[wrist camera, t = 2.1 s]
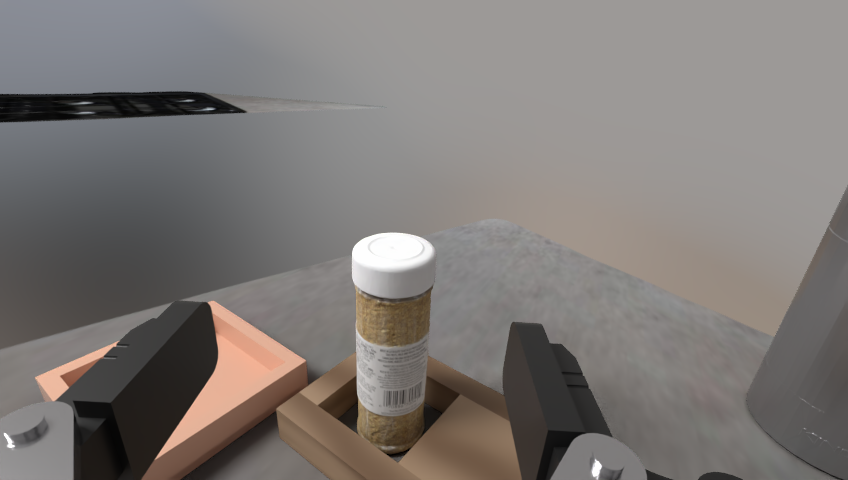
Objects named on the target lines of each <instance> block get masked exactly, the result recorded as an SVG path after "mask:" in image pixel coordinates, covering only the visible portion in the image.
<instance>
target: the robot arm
mask: <svg viewBox="0 0 848 480" xmlns="http://www.w3.org/2000/svg"><path fill="white" fill-rule="evenodd" d="M217 361H218V345H217V339H216V333H215V327H214V320H213V314H212V309H211V306H210V305H209V304H208V303H207V302H193V301H175V302H174V303H172V304H171V305H170V306H169V307H168V308H167V309H166V310H165V311H164V312H163V313H162V314H161V315H160V316H159V317H158V318H157V319H155V318H152V319H150V320H149V321H147V322H145V323H143V324H141V325H139V326H138V327H136V328H134V329H132V330H131V331H130V332H129V333H128V334H126V335H125V336H124V337H123V338H122V339H121V340H120V341H119V342H118V343H117V345H116V347H112V348H111V349H110V350H109V351H108V352H107V353H106V354H105V355H104V358H103V359H100V360H98V361H97V362H96V363H95V364H94V365H93V366H92V367H91V368H90V369H89V370H88V371H87V372H85V373H84V374H83V375H82V376H81V377H80V378H79V379H78V380H77V381H76V382H75V383H74V384H73V385H71V386H70V387H69V388H68V389H67V390H66V391H65V392H64V393H63V394H62V395H61V396H60V397H59V398H57V399H56V400H55V401H49V402H42V403H37V404H33V405H29V406H26V407H24V408H21V409H19V410H16V411H14V412H12V413H10V414H8V415H6V416H4V417H3V418H1V419H0V480H141V479H142V478H143V476H144V475H145V473H146V472H147V470H148V469H149V467H150V466H151V464H152V463H153V461H154V460H155V458H156V457H157V456H158V454H159V453H160V451H161V450H162V448H163V447H164V445H165V444H166V442H167V441H168V439H169V438H170V436H171V435H172V433H173V432H174V430H175V429H176V428H177V426H178V425H179V423H180V422H181V420H182V419H183V417H184V416H185V414H186V413H187V411H188V410H189V408H190V407H191V405H192V404H193V402H194V401H195V400H196V398H197V397H198V395H199V394H200V392H201V391H202V389H203V388H204V386H205V385H206V383H207V382H208V380H209V379H210V377H211V376H212V374H213V373H214V371H215V368H216V365H217ZM582 374H583V373H582V371H581V368H580V366H579V364H578V362H577V360H576V358H575V357H574V356H573V355H572V354H571V353H570V352H569V351H568V350H567V349H566V348H565V347H564V346H563V345H562V344H551V343H549V340H548V338H547V335H546V333H545V330H544V328H543V326H542V324H538V323H522V322H513V323H512V324H511V327H510V332H509V338H508V344H507V350H506V355H505V361H504V367H503V391H504V396H505V401H506V406H507V411H508V415H509V420H510V425H511V430H512V435H513V439H514V444H515V449H516V454H517V458H518V463H519V468H520V473H521V477H522V480H672V479H669V478H666V477H663V476H660V475H658V474H655V473H652V472H650V471H648V470H646V469H645V468H644V466H643V464H642V462H641V460H640V459H639V458H638V456H637V455H636V454H635V453H634V452H633V451H632V450H631V449H630V448H629V447H627V446H626V445H625V444H623V443H622V442H620V441H618V440H616V439H614V438H613V437H612V435H611V433H610V430H609V428H608V426H607V424H606V422H605V420H604V418H603V416H602V413H601V411H600V409H599V407H598V405H597V403H596V401H595V398H594V396H593V394H592V392H591V390H590V389H589V388H588V383H587V381H586V379H585V377H584V376H583V375H582ZM746 401H747V404H748V407H749V410H750V412H751V413H752V415H753V417H754V418H755V420H756V421H757V422H758V423H759V425H760V426H761V427H762V428H763V429H764V430H765V431H766V432H767V433H768V434H769V435H770V436H771V437H772V438H773V439H775V440H776V441H777V442H778V443H779V444H781V445H782V446H783V447H785V448H786V449H787V450H789V451H790V452H792V453H793V454H794V455H796V456H798V457H799V458H801V459H803V460H804V461H806V462H808V463H809V464H811V465H813V466H815V467H817V468H819V469H821V470H823V471H825V472H827V473H829V474H831V475H833V476H836V477H838V478H841V479H844V480H848V186H847V188H846V190H845V192H844V194H843V196H842V198H841V200H840V202H839V204H838V206H837V208H836V211H835V213H834V215H833V217H832V219H831V221H830V224H829V226H828V228H827V230H826V232H825V234H824V236H823V238H822V240H821V242H820V244H819V246H818V248H817V250H816V253H815V255H814V257H813V259H812V261H811V263H810V265H809V267H808V269H807V271H806V273H805V275H804V277H803V279H802V282H801V283H800V286H799V288H798V290H797V292H796V294H795V296H794V298H793V300H792V302H791V304H790V306H789V308H788V310H787V312H786V314H785V317H784V319H783V321H782V323H781V325H780V327H779V329H778V331H777V333H776V335H775V337H774V339H773V341H772V343H771V345H770V347H769V349H768V351H767V353H766V355H765V357H764V359H763V361H762V363H761V365H760V367H759V370H758V372H757V374H756V376H755V378H754V380H753V382H752V384H751V386H750V388H749V390H748V392H747V400H746ZM698 480H742V479H740V478H738V477H735V476H733V475H729V474H726V473H720V472H711V473H706V474H704V475H702V476H701V477H700V478H699V479H698Z"/></svg>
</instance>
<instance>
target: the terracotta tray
mask: <svg viewBox="0 0 848 480" xmlns="http://www.w3.org/2000/svg"><path fill="white" fill-rule="evenodd" d="M208 304H209V305H210V306H211V309H212V314H213V320H214V327H215V333H216V339H217V345H218V361H217V365H216V368H215V371H214V373H213V374H212V376H211V377H210V379H209V380H208V382H207V383H206V385H205V386H204V388H203V389H202V391H201V392H200V394H199V395H198V397H197V398H196V400H195V401H194V402H193V404H192V405H191V407H190V408H189V410H188V411H187V413H186V414H185V416H184V417H183V419H182V420H181V422H180V423H179V425H178V426H177V428H176V429H175V430H174V432H173V433H172V435H171V436H170V438H169V439H168V441H167V442H166V444H165V445H164V447H163V448H162V450H161V451H160V453H159V454H158V456H157V457H156V458H155V460H154V461H153V463H152V464H151V466H150V467H149V469H148V470H147V472H146V473H145V475H144V476H143V478H142V479H141V480H180V479H182V478H183V477H184V476H186V475H187V474H189V473H190V472H191V471H193V470H194V469H196V468H197V467H198V466H200V465H201V464H203V463H204V462H205V461H207V460H208V459H210V458H211V457H212V456H214V455H215V454H217V453H218V452H219V451H221V450H222V449H224V448H225V447H226V446H228V445H229V444H231V443H232V442H233V441H235V440H236V439H237V438H239V437H240V436H242V435H243V434H244V433H246V432H247V431H249V430H250V429H251V428H253V427H254V426H256V425H257V424H258V423H260V422H261V421H263V420H264V419H265V418H267V417H268V416H270V415H271V414H272V413H274V412H275V411H276V408H278V407H279V406H281V405H282V404H283V403H285V402H286V401H288V400H289V399H290V398H292V397H293V396H295V395H296V394H297V393H299V392H300V391H302V390H303V389H304V388H306V387H307V386H308V378H307V365H306V360H304V359H303V358H301V357H299V356H298V355H296V354H295V353H293V352H292V351H290V350H289V349H287V348H286V347H284V346H282V345H281V344H279V343H278V342H276V341H275V340H273V339H272V338H270V337H269V336H267V335H265V334H264V333H262V332H261V331H259V330H258V329H256V328H255V327H253V326H252V325H250V324H249V323H247V322H245V321H244V320H242V319H241V318H239V317H238V316H236V315H235V314H233V313H232V312H230V311H228V310H227V309H225V308H224V307H222V306H221V305H219V304H218V303H216V302H215V301H210V302H208ZM118 342H119V341H118ZM118 342H116V343H113V344H111V345H109V346H106V347H104V348H102V349H100V350H97V351H95V352H93V353H90V354H88V355H86V356H83V357H81V358H79V359H76V360H74V361H72V362H69V363H67V364H65V365H63V366H60V367H58V368H56V369H53V370H51V371H49V372H46V373H44V374H42V375H39V376H37V377H35V379H36V381H37V383H38V386H39V388H40V390H41V393H42V395H43V398H44V400H45V402H49V401H55V400H56V399H57V398H59V397H60V396H61V395H62V394H63V393H64V392H65V391H66V390H67V389H68V388H69V387H70V386H71V385H73V384H74V383H75V382H76V381H77V380H78V379H79V378H80V377H81V376H82V375H83V374H84V373H85V372H87V371H88V370H89V369H90V368H91V367H92V366H93V365H94V364H95V363H96V362H97V361H98V360H100V359H103V358H104V355H105V354H106V353H107V352H108V351H109V350H110V349H111V348H112V347H116V345H117V343H118Z"/></svg>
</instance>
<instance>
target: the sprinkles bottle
mask: <svg viewBox="0 0 848 480" xmlns="http://www.w3.org/2000/svg"><path fill="white" fill-rule="evenodd" d="M435 276H436V251H435V248H434V247H433V245H432V244H431V243H429V242H428V241H426V240H425V239H423V238H420V237H418V236H414V235H410V234H404V233H383V234H376V235H372V236H369V237H367V238H364V239H362V240H361V241H359V242H358V243H357V244H356V245H355V247H354V249H353V252H352V278H353V282H354V283H355V289H356V311H357V321H356V358H357V395H358V413H359V416H358V420H357V431H358V435H360V436H361V437H362V438H364V439H365V440H367V441H368V442H369V443H371V444H372V445H374V446H375V447H376V448H378V449H379V450H381V451H382V452H383V453H385V454H394V453H399V452H403V451H405V450H407V449H409V448H411V447H413V446H414V445H415V444H416V443H417V442H418V440H419V439H420V438H421V436H422V433H423V431H424V427H425V422H424V416H423V411H424V399H425V386H426V376H427V361H428V343H429V326H430V321H429V319H430V303H431V298H430V296H431V290H432V288H433V284H434V282H435Z"/></svg>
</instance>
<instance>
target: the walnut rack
mask: <svg viewBox="0 0 848 480" xmlns="http://www.w3.org/2000/svg"><path fill="white" fill-rule="evenodd" d="M357 402H358V395H357V358H356V352H355V353H353V354H352V355H351V356H349V357H348V358H346V359H345V360H344V361H342V362H341V363H339V364H338V365H337V366H335V367H334V368H332V369H331V370H330V371H328V372H327V373H325V374H324V375H323V376H321V377H320V378H318V379H317V380H316V381H314V382H313V383H311V384H310V385H309V386H307V387H306V388H304V389H303V390H302V391H300V392H299V393H297V394H296V395H295V396H293V397H292V398H290V399H289V400H288V401H286V402H285V403H283V404H282V405H281V406H279V407H278V408H276V411H277V420H278V428H279V436H280V438H281V439H282V440H283V441H284V442H286V443H287V444H288V445H289V446H290V447H292V448H293V449H294V450H295V451H296V452H298V453H299V454H300V455H301V456H303V457H304V458H305V459H306V460H307V461H309V462H310V463H311V464H312V465H313V466H315V467H316V468H317V469H318V470H319V471H321V472H322V473H323V474H324V475H325V476H327V477H328V478H329V479H330V480H522V477H521V473H520V468H519V463H518V458H517V454H516V449H515V444H514V439H513V435H512V430H511V425H510V420H509V415H508V411H507V406H506V401H505V396H504V395H502V394H500V393H498V392H496V391H494V390H493V389H491V388H489V387H487V386H485V385H483V384H481V383H479V382H477V381H475V380H473V379H472V378H470V377H468V376H466V375H464V374H462V373H460V372H458V371H456V370H454V369H452V368H451V367H449V366H447V365H445V364H443V363H441V362H439V361H437V360H435V359H433V358H431V357H429V356H428V361H427V376H426V386H425V399H424V402H425V403H426V404H428V405H430V406H431V407H433V408H435V409H436V410H438V411H440V412H441V413H443V414H442V415H441V416H440V417H439V418H438V419H437V421H436V422H435V423H434V424H433V425H432V426H431V427H430V428H429V429H428V431H427V432H426V433H425V434H424V435H423V436H422V437H421V438H420V439H419V440H418V442H417V443H416V444H415V445H414V446H413V447H412V448H411V449H410V450H409V451H408V453H407V454H406V455H405V456H404V457H403V458H402V459H401V460H400V461H399V462H398V463H397V462H396V461H395V460H393V459H392V458H390V457H389V456H388V455H386V454H385V453H383V452H382V451H381V450H379V449H378V448H376V447H375V446H374V445H372V444H371V443H369V442H368V441H367V440H365V439H364V438H362V437H361V436H360V435H358V434H357V433H355V432H354V431H353V430H351V429H350V428H348V427H347V426H346V425H344V424H343V423H341V422H340V421H339V420H337V419H338V418H339V417H340V416H342V415H343V414H344V413H345V412H346V411H347V410H349V409H350V408H351V407H352V406H353V405H355V404H356V403H357Z"/></svg>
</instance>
